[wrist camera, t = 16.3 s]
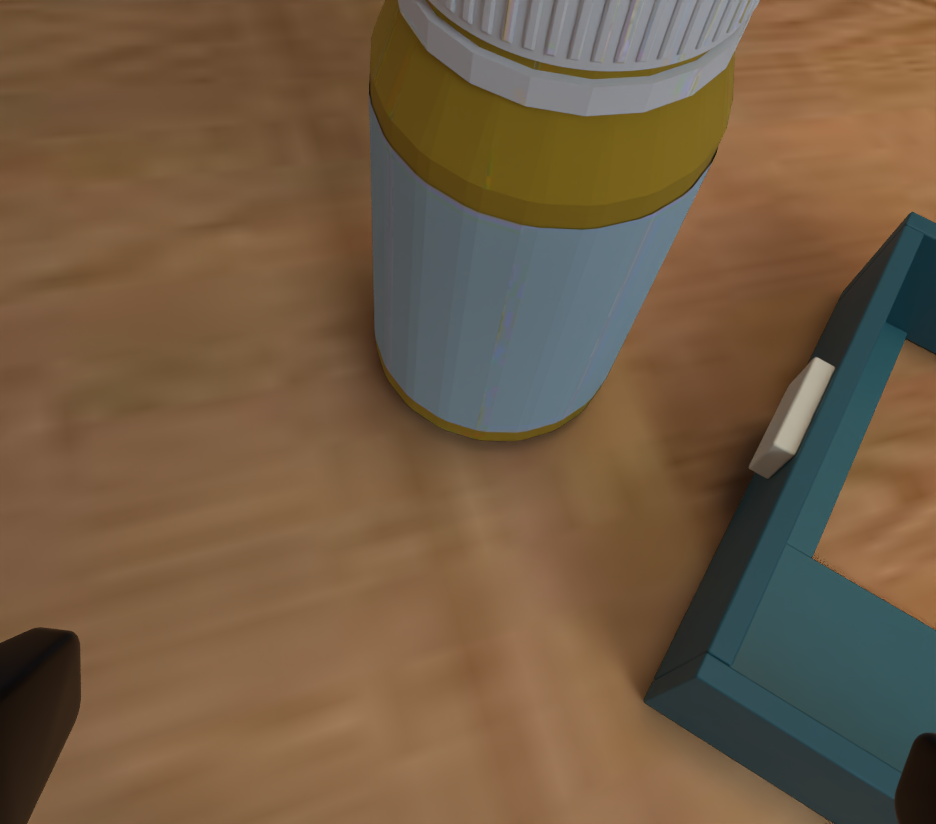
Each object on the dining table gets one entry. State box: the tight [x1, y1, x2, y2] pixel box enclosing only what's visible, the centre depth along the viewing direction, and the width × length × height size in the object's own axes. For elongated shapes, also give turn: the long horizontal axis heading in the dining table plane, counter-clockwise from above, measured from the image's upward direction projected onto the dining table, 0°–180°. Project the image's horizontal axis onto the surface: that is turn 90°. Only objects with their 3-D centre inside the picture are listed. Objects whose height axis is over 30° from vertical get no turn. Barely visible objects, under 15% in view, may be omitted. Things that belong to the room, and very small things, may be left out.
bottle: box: [369, 0, 760, 441], centre depth 18 cm, size 7×7×15 cm
